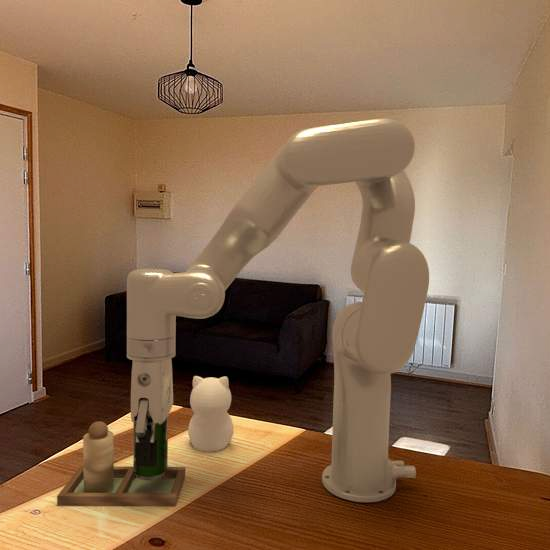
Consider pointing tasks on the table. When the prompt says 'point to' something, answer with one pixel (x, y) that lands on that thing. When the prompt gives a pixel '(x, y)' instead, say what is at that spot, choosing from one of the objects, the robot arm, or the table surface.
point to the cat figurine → (210, 414)
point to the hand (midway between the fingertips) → (151, 455)
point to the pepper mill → (98, 459)
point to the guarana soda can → (162, 453)
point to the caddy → (125, 490)
